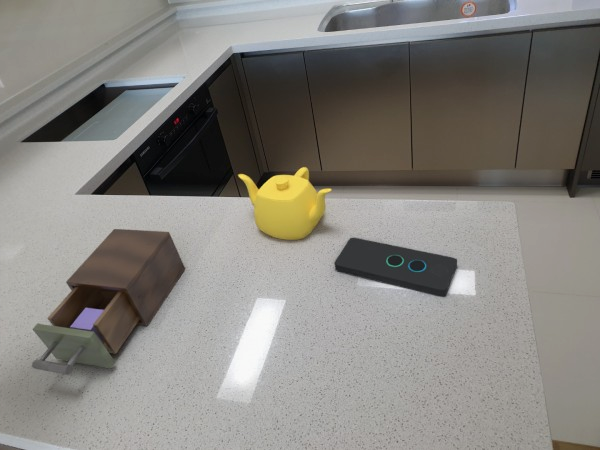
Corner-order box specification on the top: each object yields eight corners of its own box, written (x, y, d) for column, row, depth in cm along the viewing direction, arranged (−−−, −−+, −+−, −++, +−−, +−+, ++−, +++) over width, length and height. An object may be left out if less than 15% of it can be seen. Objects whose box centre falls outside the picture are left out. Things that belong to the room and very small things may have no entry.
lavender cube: (101, 346, 76) (90, 329, 74) (81, 343, 78) (69, 326, 75) (115, 326, 79) (105, 310, 77) (96, 323, 81) (85, 307, 78)
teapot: (356, 206, 98) (351, 162, 92) (323, 252, 88) (314, 207, 82) (271, 190, 109) (261, 150, 102) (233, 230, 99) (219, 189, 92)
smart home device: (445, 291, 73) (332, 264, 83) (445, 298, 74) (333, 271, 84) (458, 257, 78) (351, 235, 88) (458, 264, 80) (352, 242, 89)
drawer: (93, 395, 70) (69, 364, 65) (36, 383, 74) (10, 353, 69) (154, 305, 83) (137, 274, 79) (103, 299, 87) (85, 269, 82)
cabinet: (147, 326, 81) (125, 288, 75) (90, 318, 85) (65, 282, 79) (185, 268, 91) (169, 231, 86) (133, 264, 96) (114, 228, 90)
